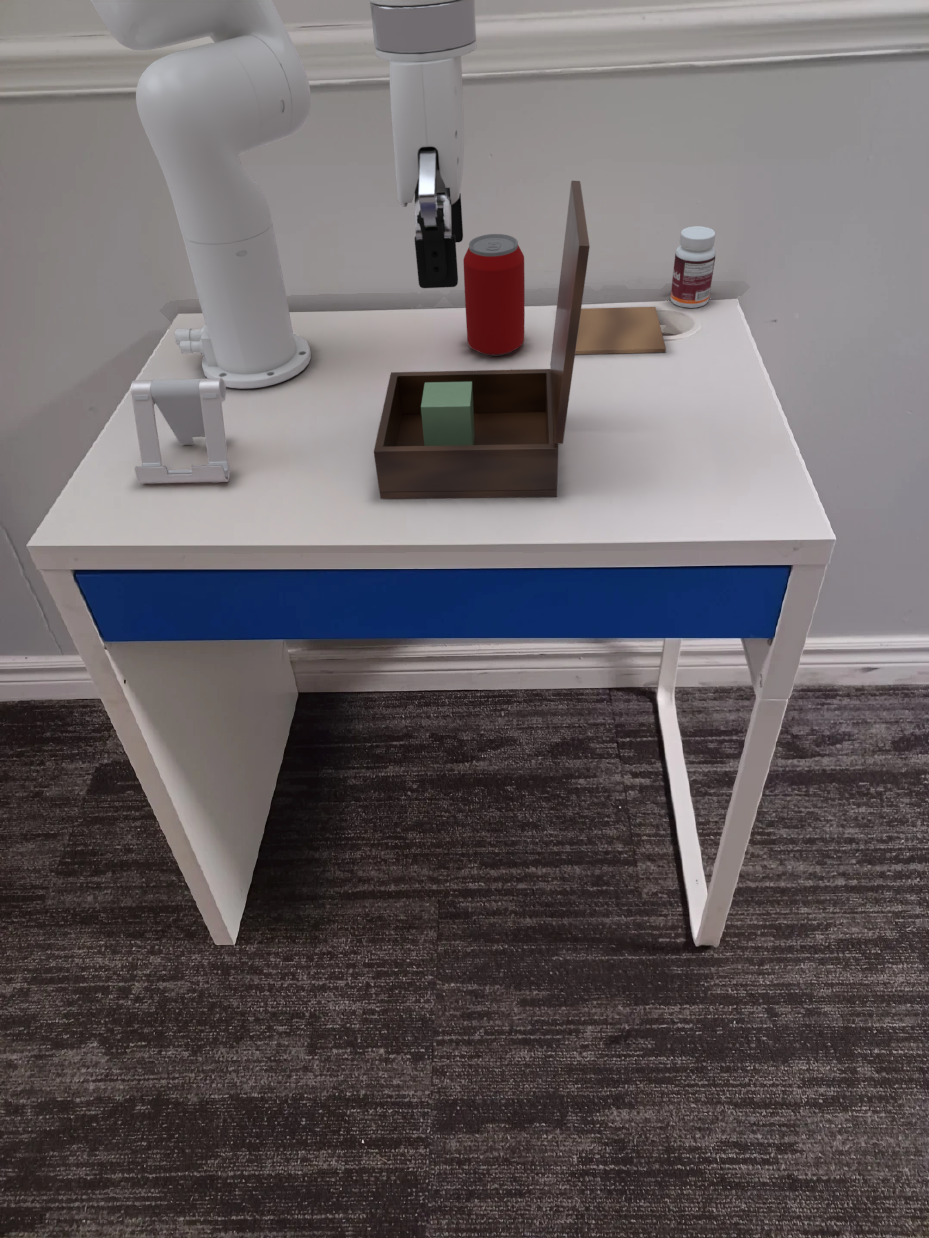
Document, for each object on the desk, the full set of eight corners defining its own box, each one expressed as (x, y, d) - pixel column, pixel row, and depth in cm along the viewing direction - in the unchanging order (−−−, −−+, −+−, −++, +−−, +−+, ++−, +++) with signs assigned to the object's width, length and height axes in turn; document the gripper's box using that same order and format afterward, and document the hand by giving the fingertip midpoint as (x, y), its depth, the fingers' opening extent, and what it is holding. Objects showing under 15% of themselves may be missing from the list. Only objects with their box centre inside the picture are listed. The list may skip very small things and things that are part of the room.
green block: (425, 461, 86) (420, 407, 82) (429, 436, 90) (424, 382, 86) (472, 461, 86) (470, 406, 82) (474, 435, 89) (472, 381, 85)
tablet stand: (140, 488, 87) (113, 412, 81) (163, 444, 93) (139, 370, 87) (226, 486, 86) (205, 410, 81) (244, 442, 92) (225, 368, 86)
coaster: (569, 354, 102) (569, 350, 102) (565, 312, 110) (565, 308, 110) (665, 352, 102) (665, 348, 101) (655, 310, 110) (655, 306, 109)
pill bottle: (669, 292, 113) (677, 224, 107) (707, 292, 113) (717, 224, 107) (670, 308, 110) (678, 239, 104) (709, 309, 109) (720, 240, 103)
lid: (579, 245, 67) (589, 245, 67) (571, 180, 77) (580, 180, 77) (553, 443, 79) (562, 444, 79) (550, 364, 89) (558, 364, 89)
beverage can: (526, 333, 107) (525, 231, 99) (523, 360, 102) (522, 255, 94) (470, 333, 108) (465, 232, 99) (464, 359, 103) (459, 255, 95)
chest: (380, 499, 84) (373, 451, 80) (395, 417, 94) (390, 372, 91) (556, 497, 83) (558, 448, 79) (552, 415, 93) (554, 368, 89)
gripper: (385, 9, 71) (407, 228, 83) (358, 57, 59) (388, 308, 70) (479, 3, 71) (488, 225, 82) (471, 50, 58) (483, 304, 70)
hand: (442, 263), depth 76 cm, fingers open, 9 cm apart
